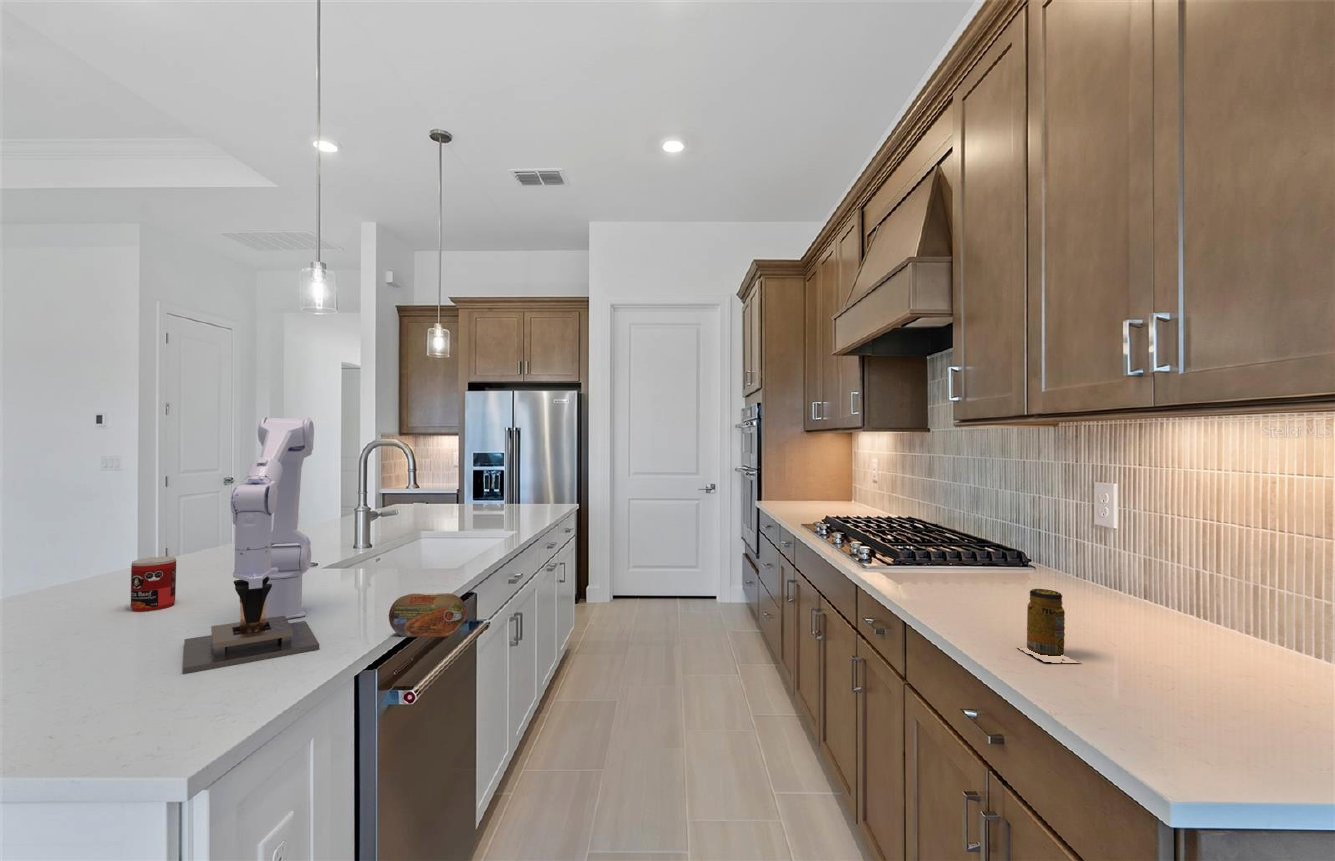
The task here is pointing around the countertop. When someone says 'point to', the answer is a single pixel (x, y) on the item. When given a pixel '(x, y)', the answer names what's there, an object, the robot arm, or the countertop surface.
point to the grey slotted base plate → (247, 644)
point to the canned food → (153, 583)
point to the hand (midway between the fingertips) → (251, 619)
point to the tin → (427, 615)
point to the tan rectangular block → (252, 626)
